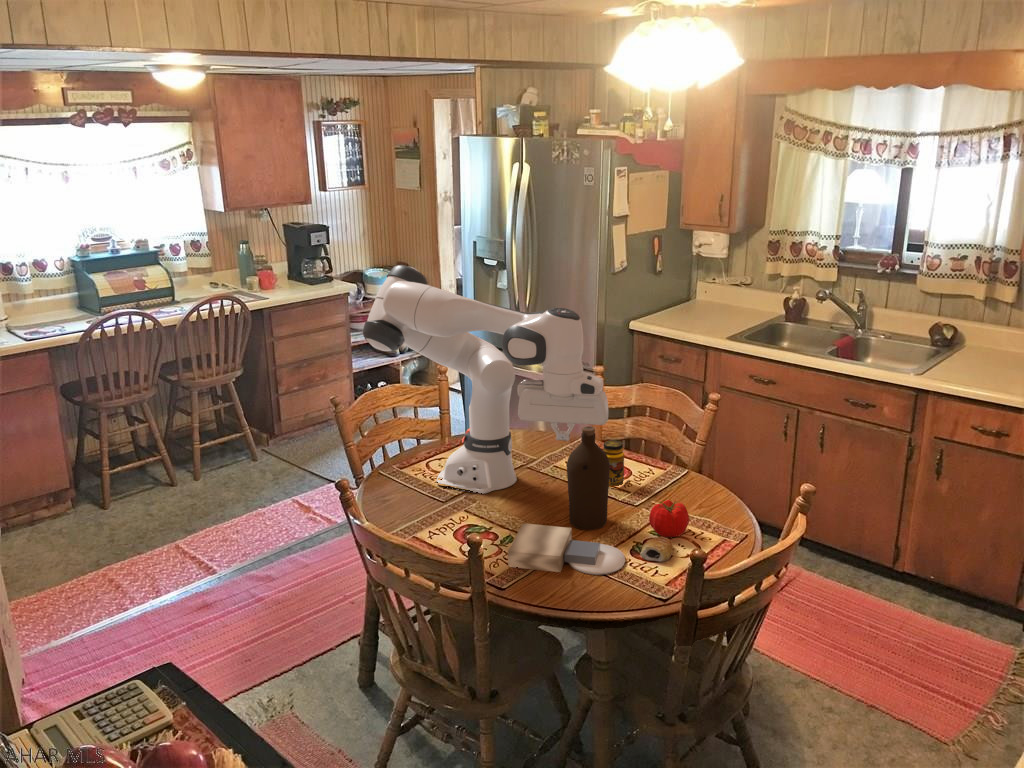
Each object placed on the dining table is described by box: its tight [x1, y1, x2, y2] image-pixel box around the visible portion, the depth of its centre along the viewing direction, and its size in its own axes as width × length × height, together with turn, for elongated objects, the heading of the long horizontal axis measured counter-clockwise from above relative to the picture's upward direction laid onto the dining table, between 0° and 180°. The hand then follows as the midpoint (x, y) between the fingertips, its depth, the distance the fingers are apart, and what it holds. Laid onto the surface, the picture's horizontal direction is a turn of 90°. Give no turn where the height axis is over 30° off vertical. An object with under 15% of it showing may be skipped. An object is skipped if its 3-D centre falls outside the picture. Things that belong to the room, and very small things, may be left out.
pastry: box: [639, 536, 674, 563], centre depth 194 cm, size 9×7×4 cm
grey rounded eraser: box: [564, 539, 601, 565], centre depth 192 cm, size 7×7×2 cm
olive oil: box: [566, 426, 610, 531], centre depth 207 cm, size 11×11×25 cm
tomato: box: [648, 499, 690, 538], centre depth 203 cm, size 9×9×8 cm
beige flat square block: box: [507, 523, 573, 573], centre depth 195 cm, size 12×14×4 cm
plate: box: [568, 543, 626, 576], centre depth 192 cm, size 13×13×1 cm
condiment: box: [602, 440, 625, 486], centre depth 232 cm, size 7×8×12 cm
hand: (562, 439), depth 189 cm, fingers closed
